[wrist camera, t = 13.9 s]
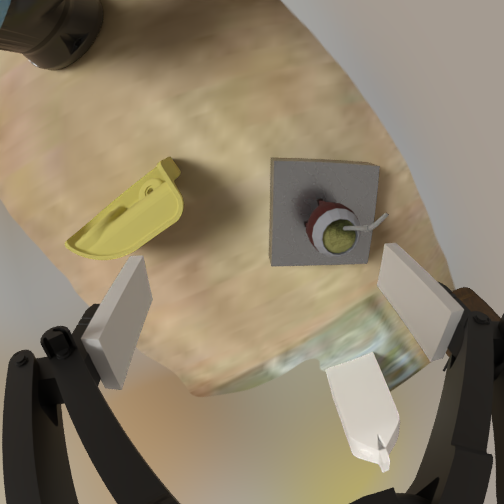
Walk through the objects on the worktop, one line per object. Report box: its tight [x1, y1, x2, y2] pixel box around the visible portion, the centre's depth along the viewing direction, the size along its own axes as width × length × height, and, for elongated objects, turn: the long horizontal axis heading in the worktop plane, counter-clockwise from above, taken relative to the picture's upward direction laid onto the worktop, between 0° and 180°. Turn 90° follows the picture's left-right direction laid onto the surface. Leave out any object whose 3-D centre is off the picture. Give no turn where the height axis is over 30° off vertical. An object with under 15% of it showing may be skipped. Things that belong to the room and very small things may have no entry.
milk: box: [325, 352, 400, 472], centre depth 52 cm, size 12×12×26 cm
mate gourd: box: [304, 198, 389, 257], centre depth 36 cm, size 8×8×15 cm
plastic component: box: [65, 157, 184, 260], centre depth 41 cm, size 20×7×10 cm, turn 122°
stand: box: [269, 158, 380, 266], centre depth 45 cm, size 16×16×4 cm
